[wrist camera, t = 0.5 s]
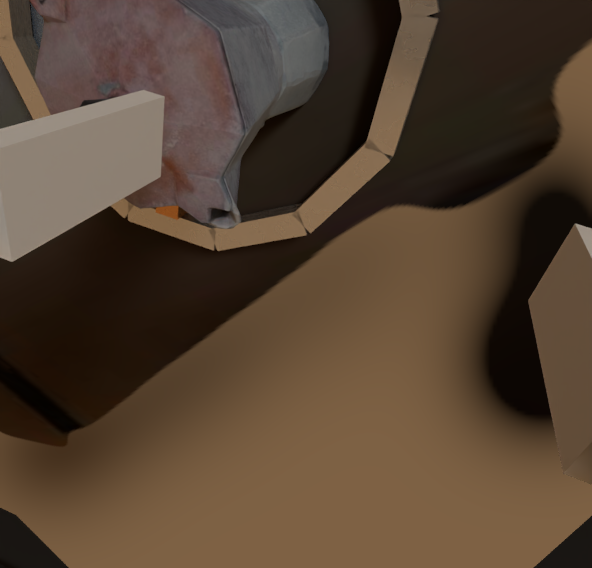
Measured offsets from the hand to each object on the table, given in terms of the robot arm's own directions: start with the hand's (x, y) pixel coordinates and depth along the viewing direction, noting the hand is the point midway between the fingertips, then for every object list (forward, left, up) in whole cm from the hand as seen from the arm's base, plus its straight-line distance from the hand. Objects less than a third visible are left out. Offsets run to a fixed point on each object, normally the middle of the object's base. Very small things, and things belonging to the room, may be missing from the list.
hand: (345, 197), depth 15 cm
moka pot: (0, -11, -21) cm, 24 cm away
